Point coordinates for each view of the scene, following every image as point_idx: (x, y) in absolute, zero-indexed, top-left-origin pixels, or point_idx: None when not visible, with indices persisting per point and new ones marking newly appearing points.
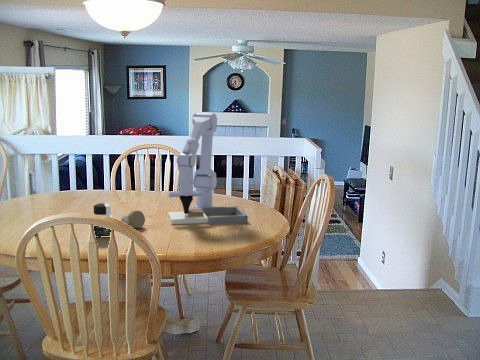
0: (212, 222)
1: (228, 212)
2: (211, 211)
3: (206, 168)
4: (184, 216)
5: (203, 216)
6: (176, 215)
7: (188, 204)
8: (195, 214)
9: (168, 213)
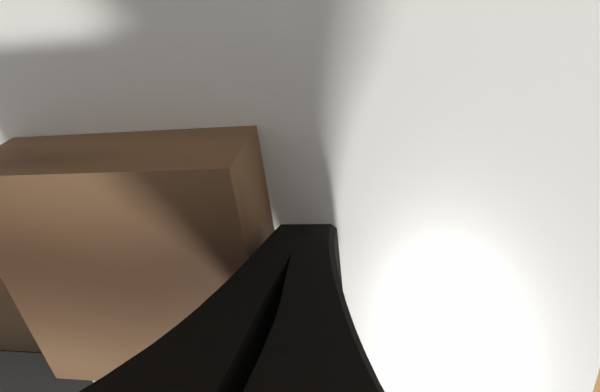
0: None
1: None
2: (14, 381)
3: None
4: (347, 161)
5: (9, 129)
6: (493, 240)
7: (189, 351)
8: (122, 148)
9: (586, 386)
